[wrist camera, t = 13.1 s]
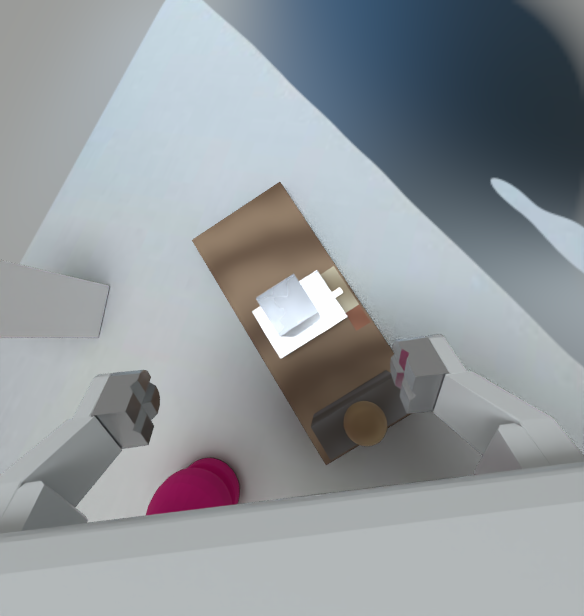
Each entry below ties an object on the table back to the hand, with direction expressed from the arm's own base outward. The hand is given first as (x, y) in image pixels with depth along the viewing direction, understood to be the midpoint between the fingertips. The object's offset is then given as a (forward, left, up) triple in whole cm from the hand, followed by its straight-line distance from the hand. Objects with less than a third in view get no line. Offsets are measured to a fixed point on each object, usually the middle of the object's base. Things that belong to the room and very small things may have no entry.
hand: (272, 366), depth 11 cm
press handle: (+2, -3, -20) cm, 21 cm away
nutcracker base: (+2, -2, -22) cm, 22 cm away
